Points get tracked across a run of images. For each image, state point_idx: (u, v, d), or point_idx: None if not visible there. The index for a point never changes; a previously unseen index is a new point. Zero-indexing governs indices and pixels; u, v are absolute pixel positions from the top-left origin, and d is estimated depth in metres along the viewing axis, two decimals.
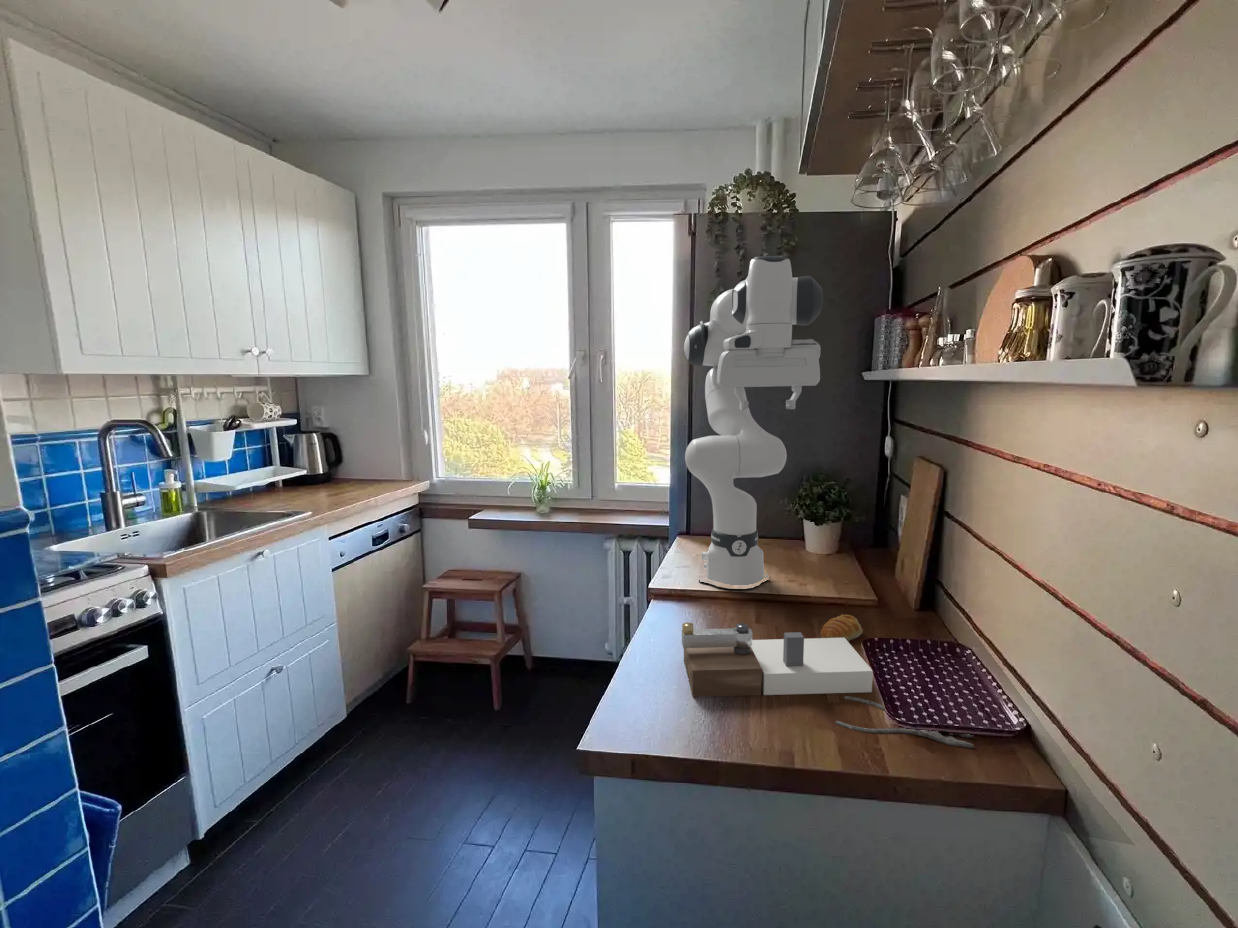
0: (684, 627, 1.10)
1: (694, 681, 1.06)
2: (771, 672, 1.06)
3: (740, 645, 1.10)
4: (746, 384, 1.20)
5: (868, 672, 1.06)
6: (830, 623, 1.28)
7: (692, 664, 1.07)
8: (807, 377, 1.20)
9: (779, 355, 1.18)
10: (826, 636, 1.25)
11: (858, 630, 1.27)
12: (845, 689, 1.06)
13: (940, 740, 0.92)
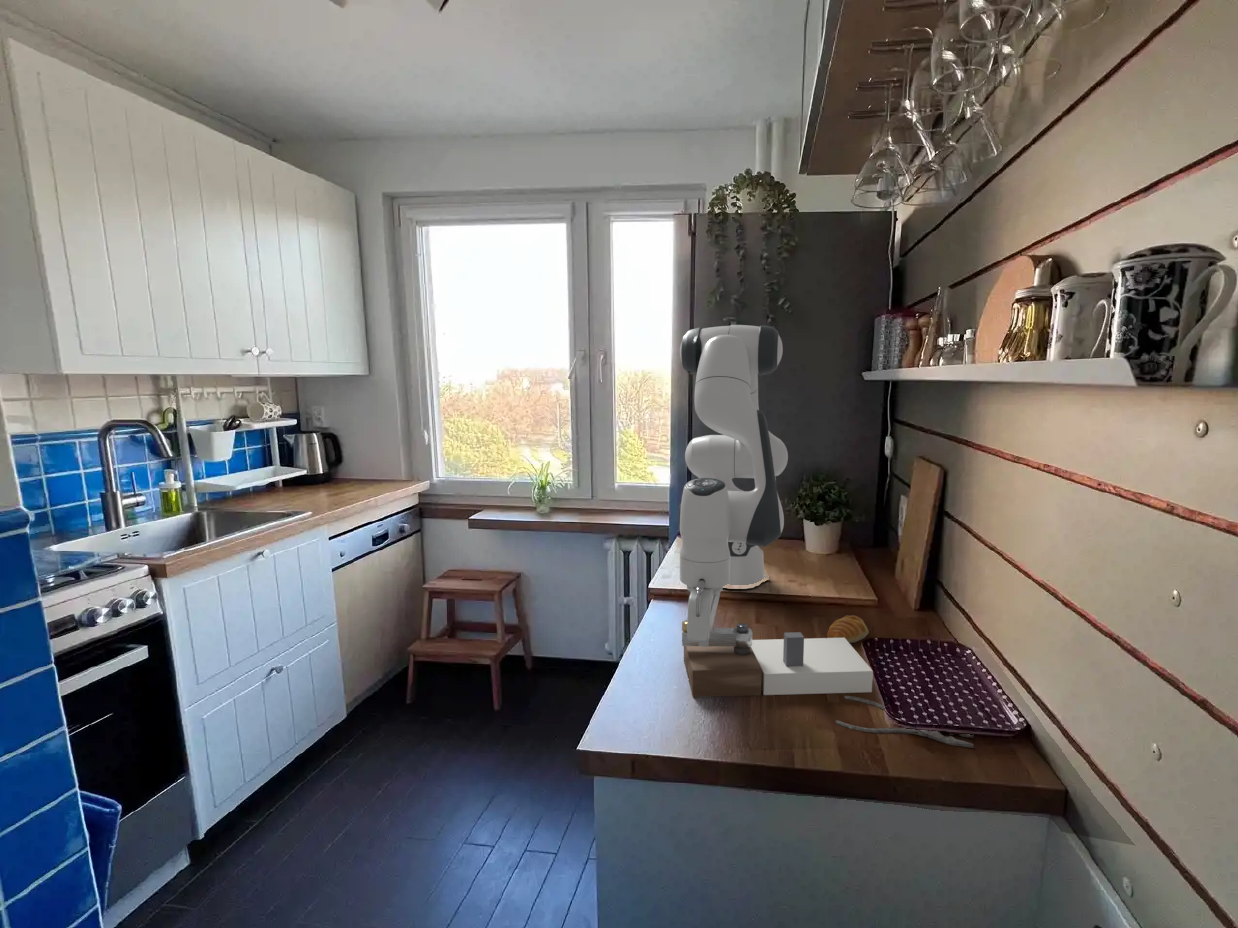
0: (683, 625, 1.11)
1: (694, 681, 1.06)
2: (771, 672, 1.06)
3: (739, 645, 1.10)
4: None
5: (868, 672, 1.06)
6: (836, 624, 1.27)
7: (692, 664, 1.07)
8: None
9: (688, 589, 1.07)
10: None
11: (864, 631, 1.26)
12: (845, 689, 1.06)
13: (940, 740, 0.92)
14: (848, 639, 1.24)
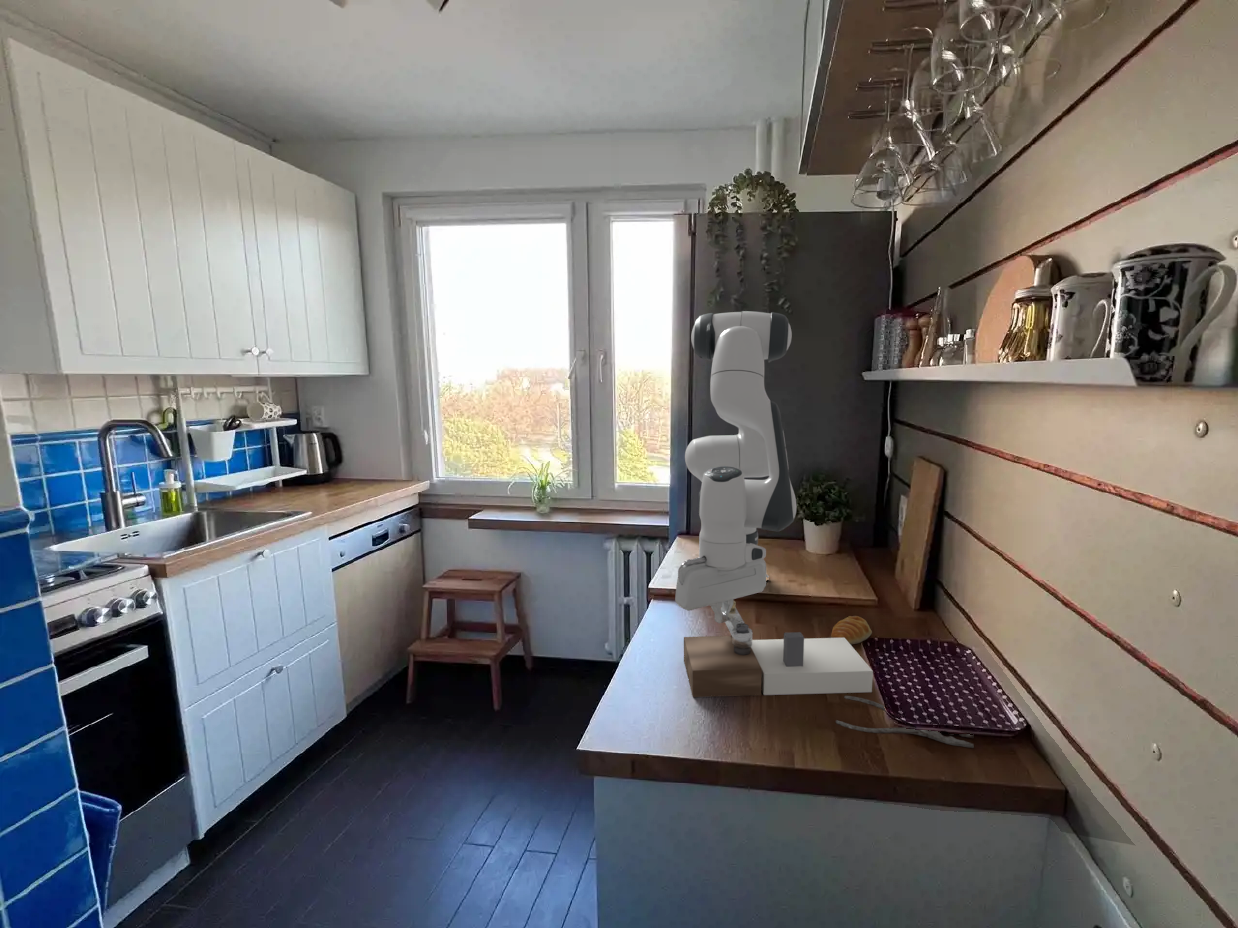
0: None
1: (694, 681, 1.06)
2: (771, 672, 1.06)
3: None
4: None
5: (868, 672, 1.06)
6: (840, 625, 1.27)
7: (692, 664, 1.07)
8: None
9: None
10: None
11: (868, 631, 1.26)
12: (845, 689, 1.06)
13: (940, 740, 0.92)
14: (852, 640, 1.24)
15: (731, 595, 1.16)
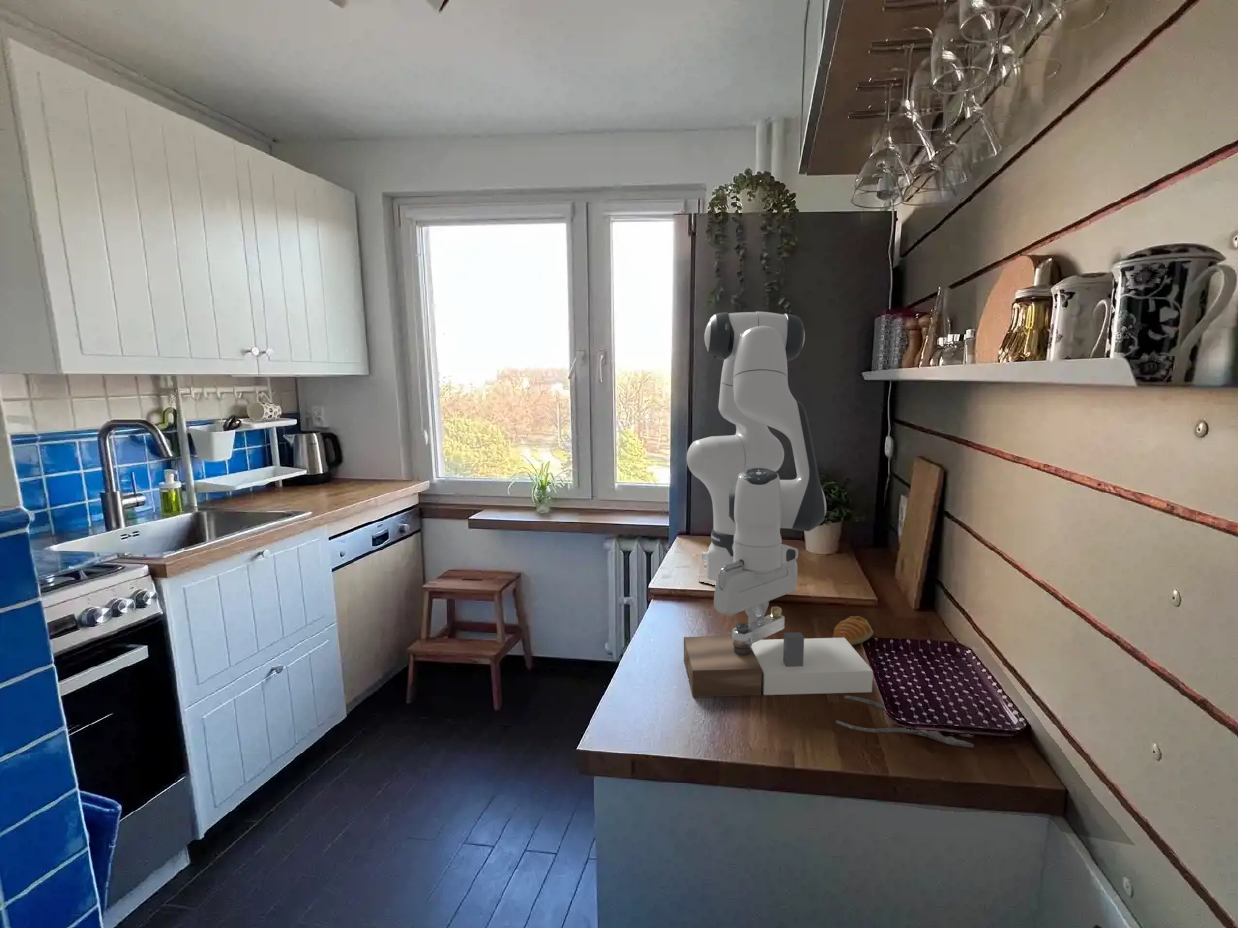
0: None
1: (694, 681, 1.06)
2: (771, 672, 1.06)
3: None
4: None
5: (868, 672, 1.06)
6: (842, 626, 1.27)
7: (692, 664, 1.07)
8: None
9: None
10: None
11: (869, 631, 1.26)
12: (845, 689, 1.06)
13: (940, 740, 0.92)
14: (854, 640, 1.23)
15: (766, 597, 1.15)
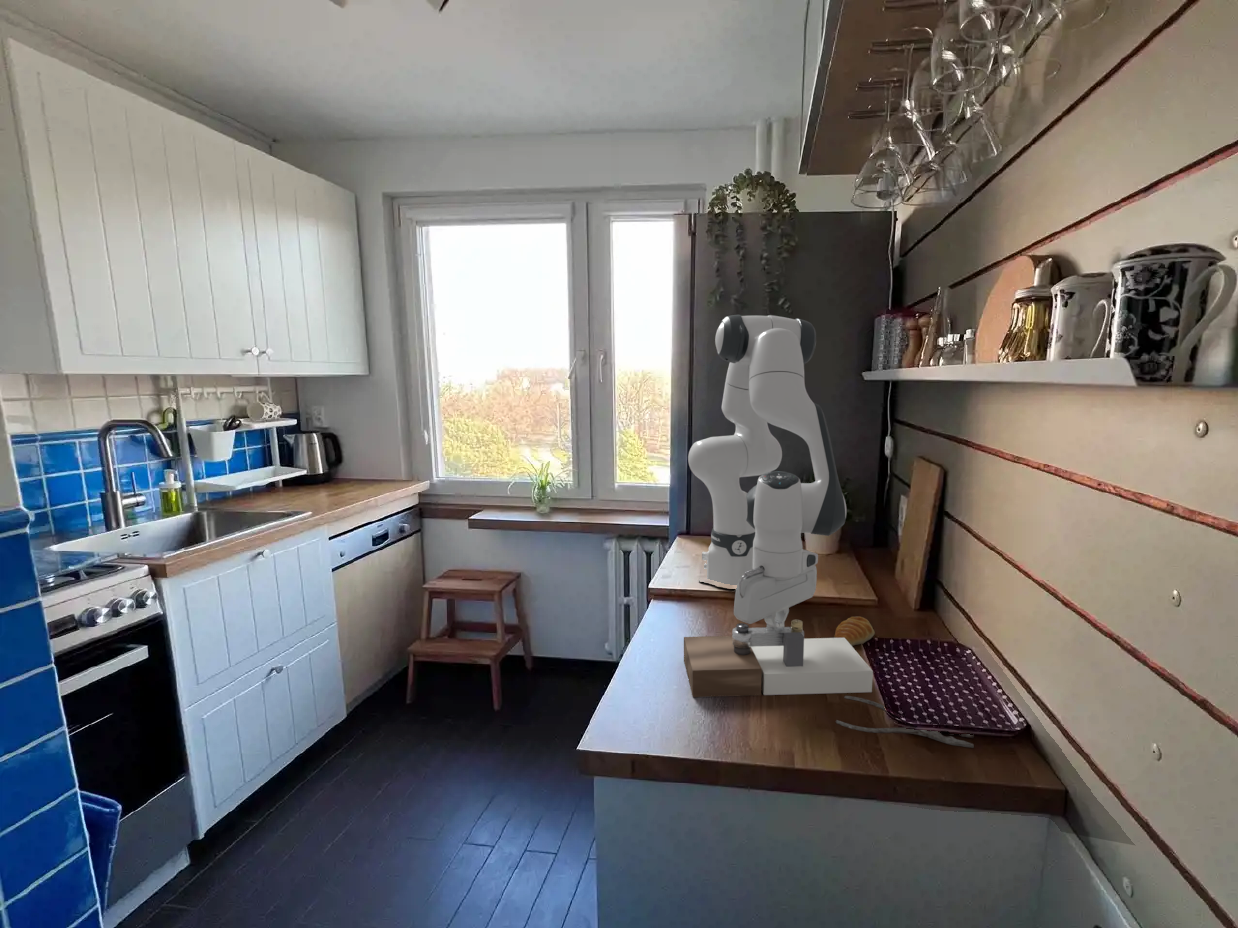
0: None
1: (694, 681, 1.06)
2: (771, 672, 1.06)
3: None
4: None
5: (868, 672, 1.06)
6: (843, 626, 1.27)
7: (692, 664, 1.07)
8: None
9: None
10: None
11: (871, 632, 1.26)
12: (845, 689, 1.06)
13: (940, 740, 0.92)
14: (856, 640, 1.23)
15: (786, 604, 1.12)
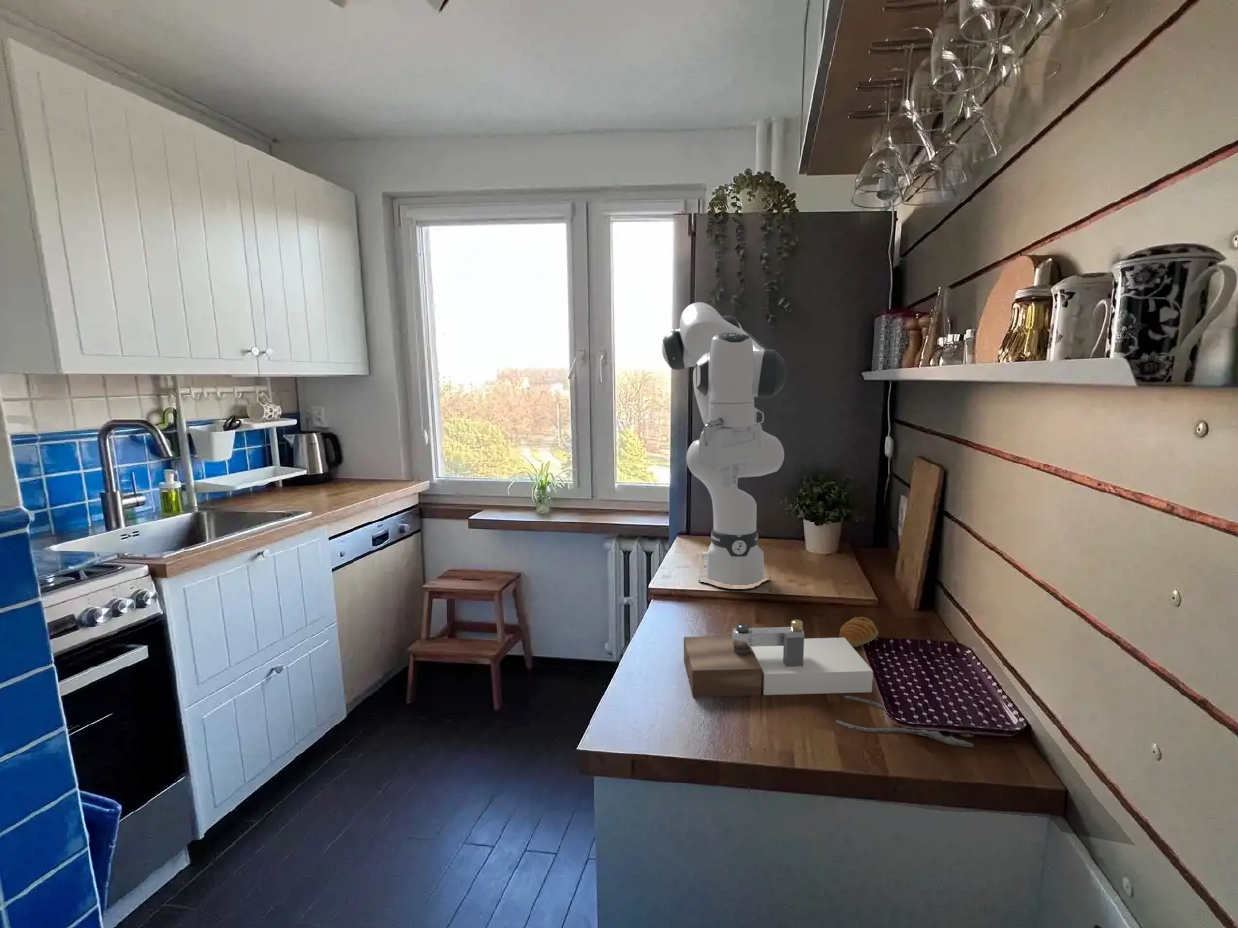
0: None
1: (694, 681, 1.06)
2: (771, 672, 1.06)
3: None
4: None
5: (868, 672, 1.06)
6: (847, 627, 1.26)
7: (692, 664, 1.07)
8: None
9: None
10: None
11: (875, 632, 1.26)
12: (845, 689, 1.06)
13: (940, 740, 0.93)
14: (861, 641, 1.23)
15: (740, 457, 1.20)
